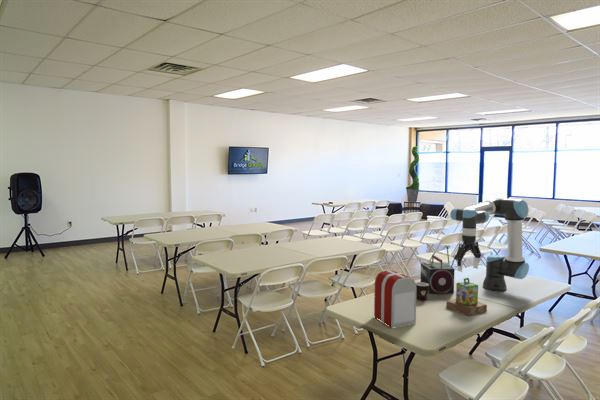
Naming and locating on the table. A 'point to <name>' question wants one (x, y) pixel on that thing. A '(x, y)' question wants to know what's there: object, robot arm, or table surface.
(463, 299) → the chalk box
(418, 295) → the coffee mug
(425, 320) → the table surface
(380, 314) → the red white striped case
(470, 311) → the walnut base
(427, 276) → the boombox
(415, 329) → the table surface
